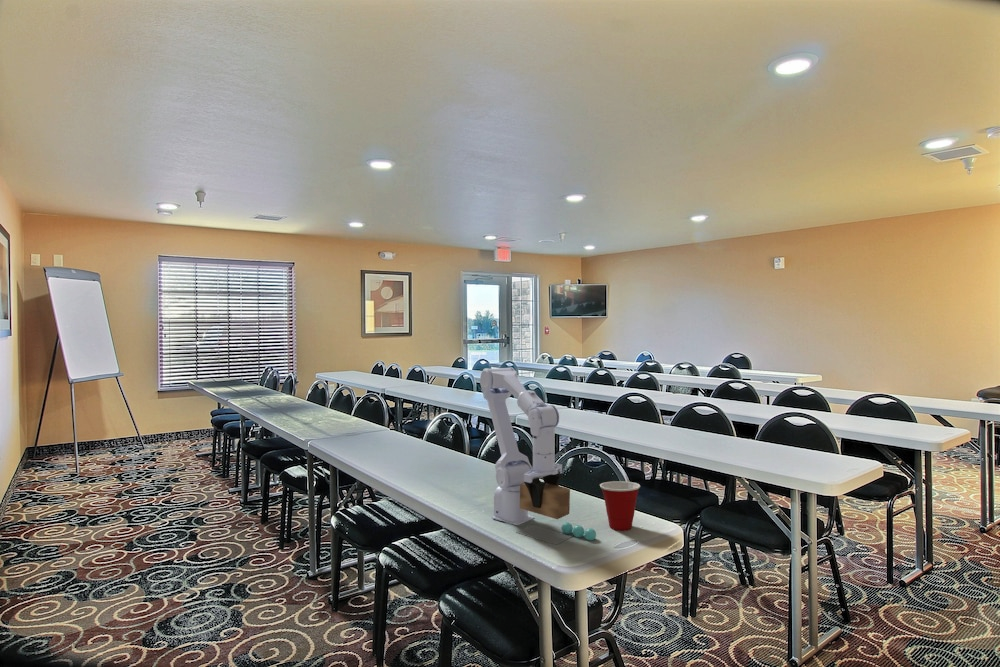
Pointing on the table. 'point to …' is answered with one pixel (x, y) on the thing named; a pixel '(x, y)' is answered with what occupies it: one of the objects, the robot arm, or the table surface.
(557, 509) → the wooden block
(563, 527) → the marble
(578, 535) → the marble
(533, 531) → the felt mat
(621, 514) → the plastic cup
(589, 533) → the teal egg
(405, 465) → the table surface
